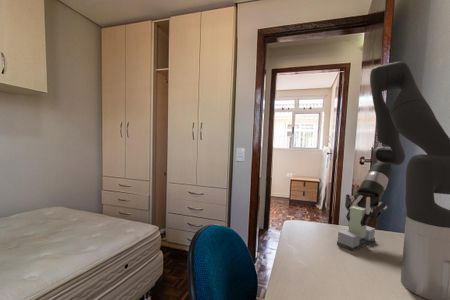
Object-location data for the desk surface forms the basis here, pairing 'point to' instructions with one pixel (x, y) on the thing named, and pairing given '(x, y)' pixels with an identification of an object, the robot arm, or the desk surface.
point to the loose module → (357, 220)
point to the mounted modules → (354, 236)
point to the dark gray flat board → (361, 244)
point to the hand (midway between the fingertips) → (355, 222)
